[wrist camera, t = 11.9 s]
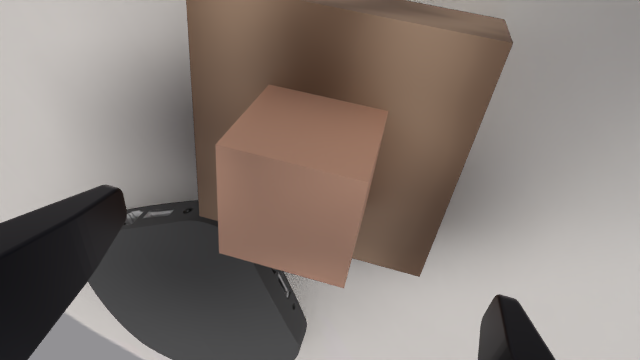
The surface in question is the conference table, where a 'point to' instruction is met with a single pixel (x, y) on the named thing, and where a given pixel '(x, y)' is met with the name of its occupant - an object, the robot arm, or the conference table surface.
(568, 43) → the conference table surface
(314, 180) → the terracotta block
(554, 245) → the conference table surface
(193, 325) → the media streaming box
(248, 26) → the walnut block
